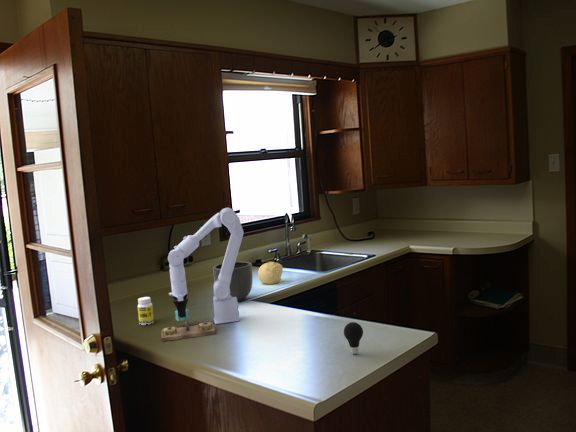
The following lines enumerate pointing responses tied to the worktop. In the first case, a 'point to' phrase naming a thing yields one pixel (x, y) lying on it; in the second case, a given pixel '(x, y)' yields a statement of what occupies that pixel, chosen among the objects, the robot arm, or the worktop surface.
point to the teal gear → (182, 317)
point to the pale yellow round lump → (270, 273)
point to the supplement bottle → (145, 311)
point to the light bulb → (353, 336)
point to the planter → (238, 279)
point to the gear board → (187, 331)
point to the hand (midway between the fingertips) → (182, 315)
